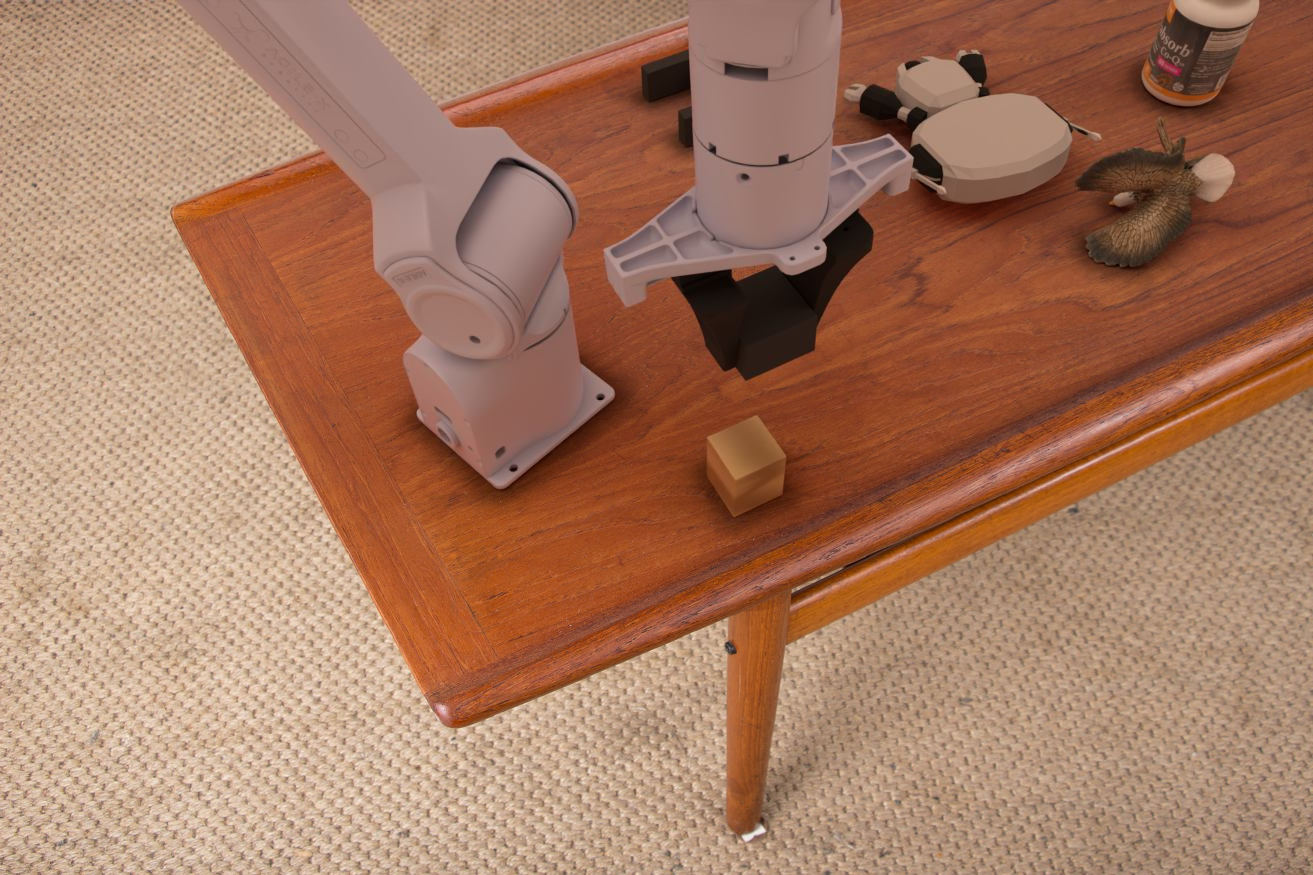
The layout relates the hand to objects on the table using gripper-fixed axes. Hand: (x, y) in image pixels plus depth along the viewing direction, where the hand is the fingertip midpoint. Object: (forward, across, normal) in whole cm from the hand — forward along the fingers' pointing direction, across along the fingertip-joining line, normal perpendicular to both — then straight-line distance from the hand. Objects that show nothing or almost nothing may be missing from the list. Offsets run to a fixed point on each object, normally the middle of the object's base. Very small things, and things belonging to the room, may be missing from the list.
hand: (759, 339), depth 54 cm
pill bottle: (+11, +44, +14) cm, 48 cm away
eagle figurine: (+11, +32, +4) cm, 34 cm away
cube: (+10, -2, -2) cm, 11 cm away
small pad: (0, 0, 0) cm, 0 cm away
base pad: (+10, +13, +29) cm, 34 cm away
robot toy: (+11, +26, +16) cm, 32 cm away
